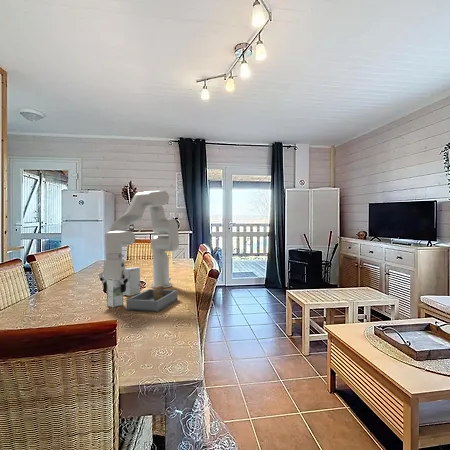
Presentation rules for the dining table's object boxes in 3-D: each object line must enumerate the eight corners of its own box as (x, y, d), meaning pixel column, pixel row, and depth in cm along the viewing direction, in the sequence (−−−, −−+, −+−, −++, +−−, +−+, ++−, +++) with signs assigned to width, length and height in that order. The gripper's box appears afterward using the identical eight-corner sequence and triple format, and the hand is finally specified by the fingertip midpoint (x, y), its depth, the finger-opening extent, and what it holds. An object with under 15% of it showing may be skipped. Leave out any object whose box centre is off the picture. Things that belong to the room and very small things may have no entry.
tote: (149, 298, 170) (149, 289, 170) (177, 299, 166) (177, 290, 166) (126, 310, 149) (126, 299, 149) (157, 312, 145) (157, 301, 145)
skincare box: (130, 296, 176) (129, 269, 176) (122, 295, 179) (121, 268, 179) (141, 292, 183) (140, 267, 183) (133, 291, 186) (132, 266, 186)
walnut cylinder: (156, 298, 166) (156, 285, 166) (165, 298, 165) (165, 285, 164) (151, 300, 161) (151, 287, 161) (160, 301, 160) (160, 287, 160)
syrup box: (117, 303, 162) (116, 274, 161) (124, 305, 158) (123, 276, 158) (106, 306, 157) (106, 276, 157) (113, 308, 154) (112, 277, 153)
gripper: (133, 256, 158) (134, 290, 158) (103, 255, 163) (104, 289, 163) (125, 258, 151) (125, 294, 151) (93, 257, 156) (94, 292, 156)
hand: (114, 291), depth 157 cm, fingers open, 9 cm apart
